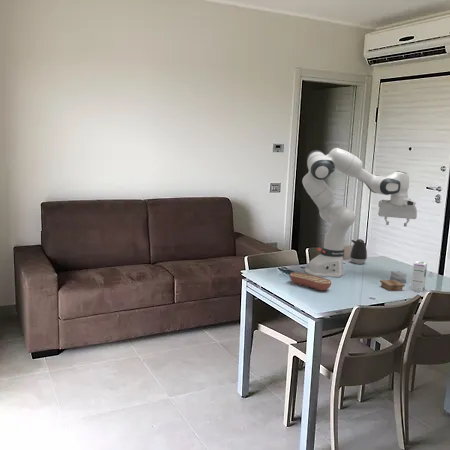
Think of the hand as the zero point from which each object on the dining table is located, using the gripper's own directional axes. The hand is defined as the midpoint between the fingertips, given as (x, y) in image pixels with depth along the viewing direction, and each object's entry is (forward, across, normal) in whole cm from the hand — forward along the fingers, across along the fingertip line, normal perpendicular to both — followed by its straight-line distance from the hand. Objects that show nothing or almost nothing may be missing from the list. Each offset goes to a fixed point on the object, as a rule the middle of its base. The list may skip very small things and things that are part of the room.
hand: (396, 225), depth 277 cm
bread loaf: (+30, -40, -40) cm, 64 cm away
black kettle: (+30, -20, +26) cm, 44 cm away
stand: (+30, 0, -22) cm, 37 cm away
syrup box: (+30, +13, -18) cm, 37 cm away
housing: (+30, +4, -7) cm, 31 cm away
